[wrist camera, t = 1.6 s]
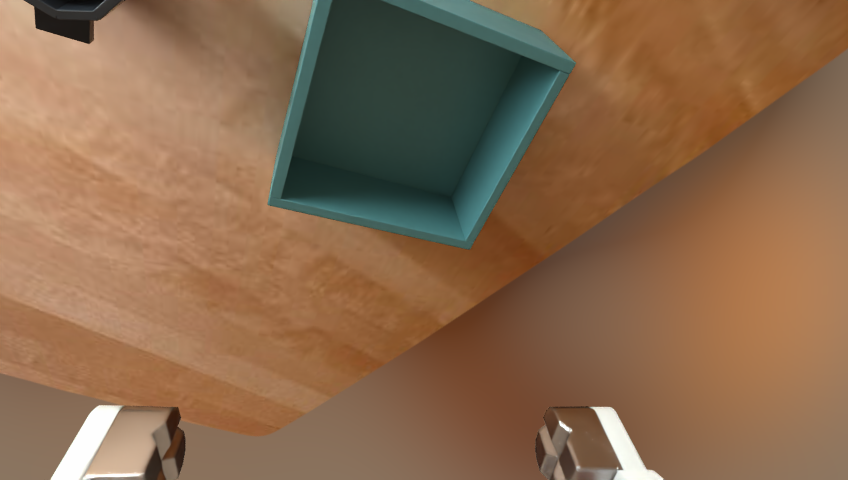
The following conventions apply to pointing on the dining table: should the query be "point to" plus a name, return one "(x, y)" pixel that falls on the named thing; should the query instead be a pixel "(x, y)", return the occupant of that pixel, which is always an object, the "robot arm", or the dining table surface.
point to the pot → (71, 16)
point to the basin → (412, 114)
